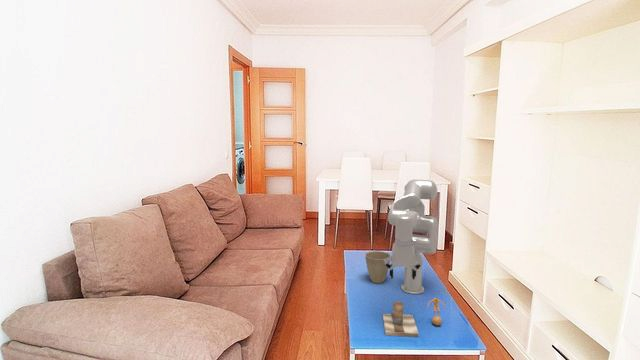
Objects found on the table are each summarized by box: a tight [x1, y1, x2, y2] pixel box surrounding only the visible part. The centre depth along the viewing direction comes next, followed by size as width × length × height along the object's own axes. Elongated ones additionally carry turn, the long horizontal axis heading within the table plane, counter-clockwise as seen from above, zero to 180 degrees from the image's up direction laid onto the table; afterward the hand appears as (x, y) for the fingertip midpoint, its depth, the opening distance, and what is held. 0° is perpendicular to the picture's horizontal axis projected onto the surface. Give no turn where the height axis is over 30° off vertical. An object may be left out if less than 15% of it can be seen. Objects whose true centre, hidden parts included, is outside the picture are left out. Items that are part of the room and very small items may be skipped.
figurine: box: [427, 297, 446, 326], centre depth 165 cm, size 8×6×12 cm
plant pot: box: [364, 250, 392, 284], centre depth 213 cm, size 15×15×16 cm
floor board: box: [382, 313, 420, 338], centre depth 164 cm, size 16×14×2 cm
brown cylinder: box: [392, 301, 404, 325], centre depth 163 cm, size 4×4×9 cm
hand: (402, 277), depth 164 cm, fingers open, 9 cm apart
